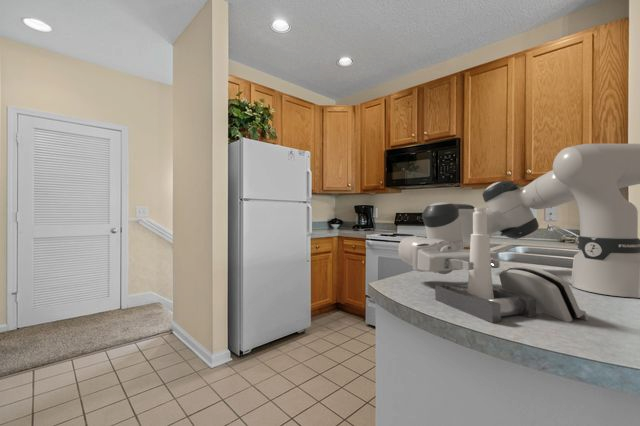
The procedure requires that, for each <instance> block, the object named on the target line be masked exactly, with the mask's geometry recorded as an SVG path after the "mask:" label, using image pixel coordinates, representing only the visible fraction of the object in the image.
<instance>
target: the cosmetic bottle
mask: <svg viewBox="0 0 640 426" xmlns="http://www.w3.org/2000/svg"><path fill="white" fill-rule="evenodd" d="M474 210H475V212H474V213H473V234H471V241H470V243H469V244H470V245H469V249H470V262H473V264H474V265H473V267H474V269H473V270H468V279H467V280H468V281H467V282H468V289H467V293H469V294H472V295H475V296H478V297H481V298H484V299H487V300H490V299H494V294H493V287H494V286H493V278H492V268H491V255H490V251H491V241H490V238H489V235H488V234H487V213H486V212H485V210H487V209H486V208H485V207H474Z"/></svg>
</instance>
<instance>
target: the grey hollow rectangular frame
mask: <svg viewBox="0 0 640 426" xmlns="http://www.w3.org/2000/svg"><path fill="white" fill-rule="evenodd" d="M434 286H435V288H434V289H435V292H434V293H435V295H434V296H435V299H434V300H435V301H438V302H440V303H443V304H446V305H447V306H449V307H452V308H455V309H457V310H459V311H462V312H464V313H467V314H469V315H472V316H473V317H476V318H479V319H481V320H483V321H486V322H489V323H490V324H496V323H500V322H501V318H502V317H508V316H515V315H521V316H524V317H527V318H535V317H537V310H536V299H534V298H530V297H527V296H523V295H520V294H516V293H513V292H509V291H505V290H503V289H502V288H497V287H494V286H493V294H494V299H490V300H487V299H484V298H481V297H478V296H475V295H472V294H469V293H467V289H468V281H466V284H463V285H451V286H448V285H444V284H436V285H434Z"/></svg>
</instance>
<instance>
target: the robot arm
mask: <svg viewBox="0 0 640 426" xmlns="http://www.w3.org/2000/svg"><path fill="white" fill-rule="evenodd" d="M519 185H520V183H519V182H518V183H514V182H512V181H509V180H501V181H497V182H494V183H492V184H490V185H488V186H487V187H486V188H485V190H484V191H482V199H483V201H484V203H486V205H487V207H488V209H486V210H485V212H486V213H487V234H488V235H489V239H490V238H492V236H493V235H494V234H495V233H497V232H499V233H500V236H502V237H503V236H504V237H506V238H509V239H513V240H517V239H525V238H527V237H530V236H532V235H533V234H534V233H535V232H536V231H538V229H539V227H540V226H539V225H540V224H539V222H538V219H537V217H535V216H534V214H533V212H532V210H531V209H533V210H544V209H550V208H553V207H557V206H561V205H563V204H566V203H569V202H572V201H574V200H575V201H576V203H577V208H578V214H579V215H578V216H579V235H578V236H577V242H576V243H577V249H579V251H578V252H577V253H576V254H575V255H574V256H573V262H572V271H571V278H567V283H568V284H571V286H572V287H573V288H575V289H579V290H582V291H585V292H591V293H595V294H600V295H607V296H614V297H625V298H638V299H640V238H639V236H638V235H639V233H638V232H639V231H638V230H639V227H638V222H639V221H638V220H639V217H638V214H639V212H638V211H639V210H638V208H637V207H636V205H635V204H633V203H632V202H630V201H629V200H627V199H626V198H625V197H624V196H623V194H622V192H621V191H620V189H623V188H627V187H632V186H636V185H640V143H581V144H577V145H573V146H568V147H565V148H563V149H561V150H560V151H559V152H558V153H557V155H556V156H555V157H554V160H553V162H552V170H549V171H548V172H546V173H544V174H542V175H540V176H539V177H537V178H535V179H534V180H532V181H531V182H529V183H528V184H527V185H525V186H523V187H519ZM474 208H475V206H473V205H472V204H465V203H464V204H463V203H451V202H446V201H445V202H443V201H441V202H434V203H432V204H429V205H427V206H426V207H425V209H424V210H423V212H422V214H421V216H422V221H423V224H424V228H425V233H426V235H425V236H426V237H423V236H407V237H404V238H402V239H401V240H400V241H399V244H398V246H397V247H398V248H397V250H398V255H399V258H400V259H401V260H402V261H403V262H404V263H405V264H408V265H410V266H412V270H413V271H415V272H421V273H423V272H425V273H426V272H430V273H435V274H436V273H437V274H440V275H447V274H450V273H451V272H453V271H460V270H464V271H469V270H473V269H474V267H473V265H474V264H473V262H470V248H468V249H465V246H464V243H467V244H470V241H471V234H473V213H474V212H475V210H474ZM490 255H491V269H499V268H500V267H501V263H500V260H499V253H498V252H496V251H492V250H490Z"/></svg>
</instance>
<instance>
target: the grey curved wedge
mask: <svg viewBox="0 0 640 426" xmlns="http://www.w3.org/2000/svg"><path fill="white" fill-rule="evenodd" d="M498 276H499V280H500V283H501V289H502V290H505V291H509V292H513V293H516V294H520V295H523V296H527V297H530V298H534V299H536V312H537V311H538V312H541V313H542V314H546V315H548V316H551V317H553V318H556V319H558V320H560V321H563V322H565V323H570V322H572V321H573V317H574V318H578V319H581V320H584V321H589V318H588V314H587V311H585V310H583V309H580V307H579V305H578V302H577V300H576V298H575V296H574V293H573V291H572V288H571V286H570V285H569V284H570V283H568V281H566V280H564V279H563V278H560V277H559V276H558V275H554V274H553V273H551V272H550V271H549V272H548V271H546V270H543V269H540V268H536V267H532V266H515V267H510V268H507V269H505V270H503V271H501V272H500V273H499V274H498Z"/></svg>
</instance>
